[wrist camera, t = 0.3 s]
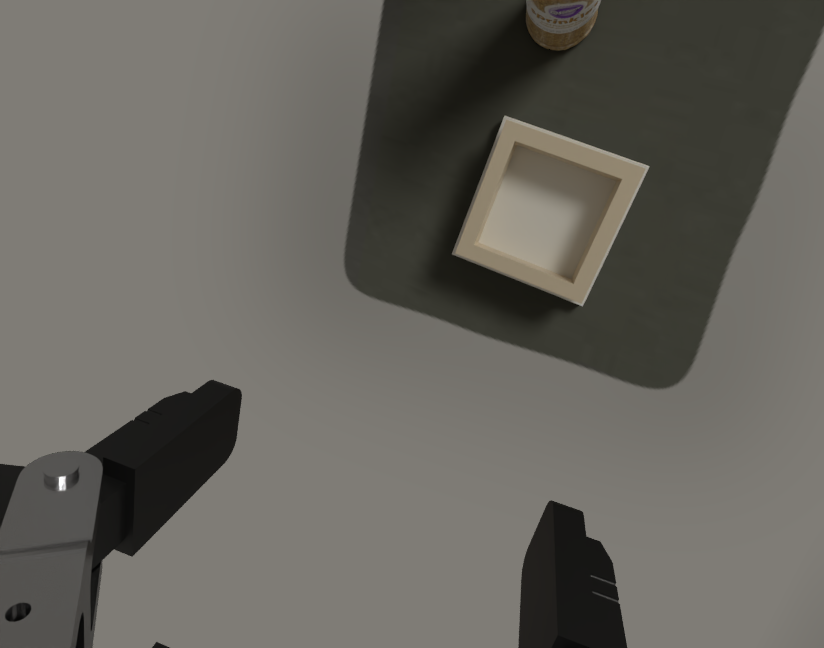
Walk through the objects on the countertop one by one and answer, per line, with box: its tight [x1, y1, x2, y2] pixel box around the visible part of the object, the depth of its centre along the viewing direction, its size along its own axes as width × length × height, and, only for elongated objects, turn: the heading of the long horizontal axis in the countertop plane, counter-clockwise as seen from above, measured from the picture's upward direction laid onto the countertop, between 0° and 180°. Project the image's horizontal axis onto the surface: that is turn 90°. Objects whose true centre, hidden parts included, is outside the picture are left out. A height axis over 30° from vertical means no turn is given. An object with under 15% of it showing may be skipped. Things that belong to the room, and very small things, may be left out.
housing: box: [452, 116, 649, 306], centre depth 34 cm, size 10×10×4 cm
